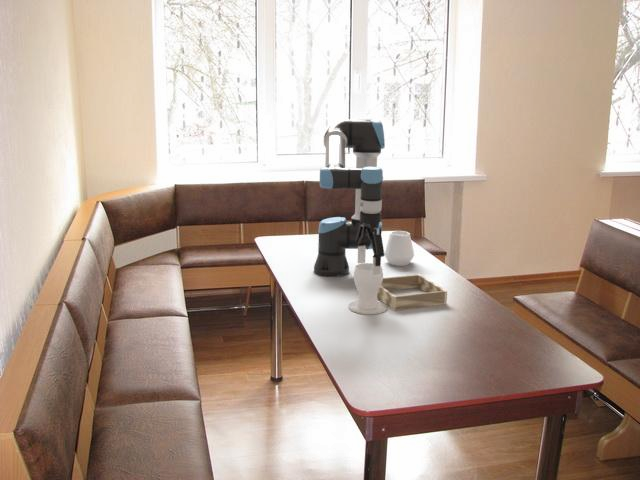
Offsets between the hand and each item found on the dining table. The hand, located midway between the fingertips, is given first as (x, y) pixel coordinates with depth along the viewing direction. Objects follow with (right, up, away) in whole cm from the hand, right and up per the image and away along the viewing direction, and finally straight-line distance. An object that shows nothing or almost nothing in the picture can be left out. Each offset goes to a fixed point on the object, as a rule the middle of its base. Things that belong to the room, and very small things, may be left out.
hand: (368, 268), depth 240 cm
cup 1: (0, -14, +3) cm, 15 cm away
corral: (+16, -12, +15) cm, 25 cm away
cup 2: (+18, 0, +61) cm, 64 cm away
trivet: (0, -15, +3) cm, 15 cm away
